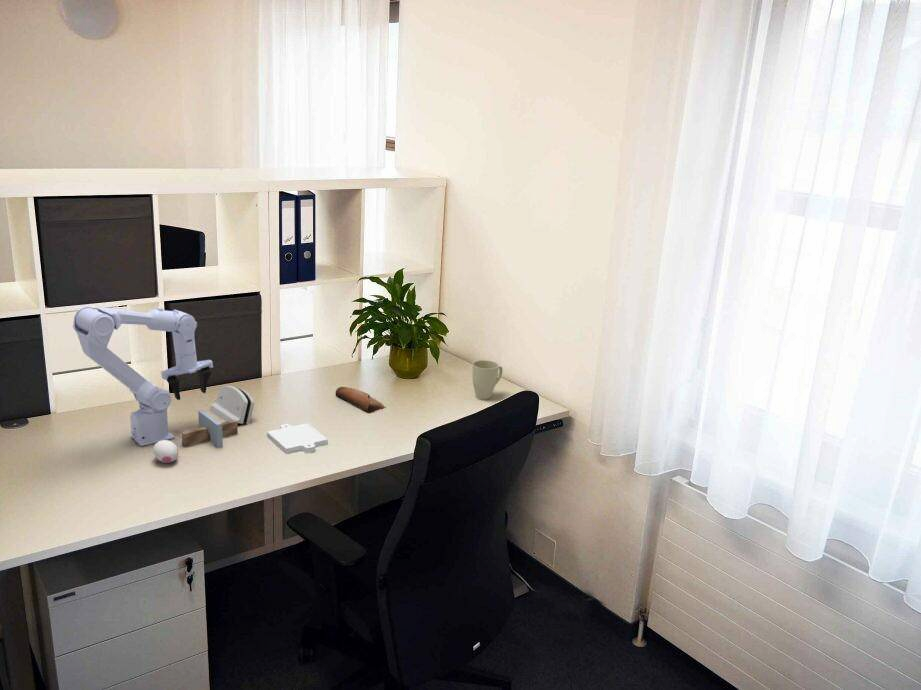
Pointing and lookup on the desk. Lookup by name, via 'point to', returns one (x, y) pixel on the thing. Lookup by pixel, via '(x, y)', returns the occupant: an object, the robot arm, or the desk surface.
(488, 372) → the mug
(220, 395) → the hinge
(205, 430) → the walnut plate
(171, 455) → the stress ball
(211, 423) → the upright grey panel
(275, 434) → the mounting plate
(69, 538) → the desk surface
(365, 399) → the sunglasses case
